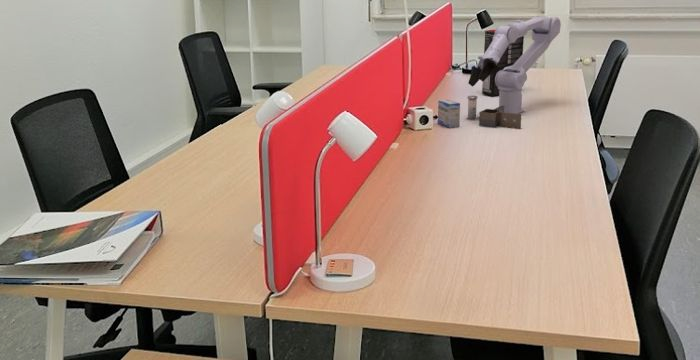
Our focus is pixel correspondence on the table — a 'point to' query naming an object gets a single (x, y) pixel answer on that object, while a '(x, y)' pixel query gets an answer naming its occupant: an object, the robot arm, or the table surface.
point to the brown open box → (502, 118)
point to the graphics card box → (501, 61)
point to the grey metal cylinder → (472, 107)
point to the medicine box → (448, 113)
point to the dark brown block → (489, 122)
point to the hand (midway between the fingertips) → (475, 82)
